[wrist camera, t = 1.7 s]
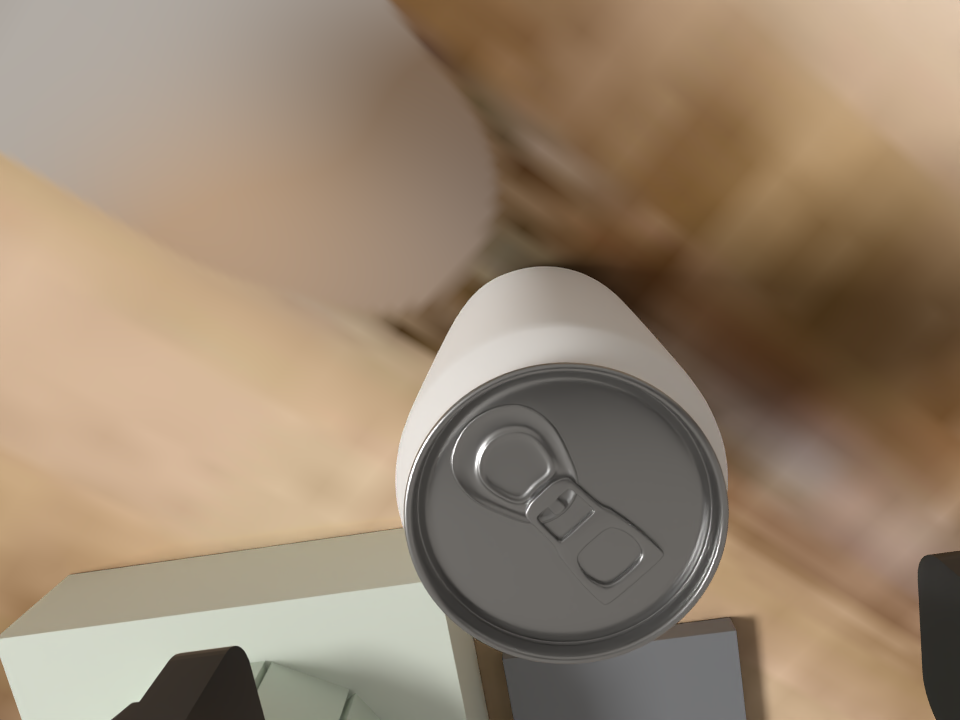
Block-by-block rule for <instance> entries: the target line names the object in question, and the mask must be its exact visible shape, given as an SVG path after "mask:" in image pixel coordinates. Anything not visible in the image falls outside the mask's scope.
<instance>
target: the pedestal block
mask: <svg viewBox="0 0 960 720" xmlns="http://www.w3.org/2000/svg"><path fill="white" fill-rule="evenodd" d="M229 646H239V647H241V648H242V649H243V650H244V651H245V653H246V654H247V657H248V659H249V662H250V665H251V669H252V672H253V676H254V680H255V684H256V687H257V691H258V695H259V699H260V702H261V706H262V710H263V714H264V717H265V720H489V717H488V711H487V706H486V701H485V696H484V691H483V686H482V681H481V676H480V671H479V666H478V660H477V655H476V650H475V645H474V640H473V637H472V636H471V635H469V634H468V633H467V632H465V631H464V630H462V629H461V628H460V627H459V626H457V625H456V624H455V623H454V622H453V621H452V620H451V619H450V618H449V617H447V615H446V614H445V613H444V612H443V611H442V610H441V609H440V608H439V607H438V606H437V604H436V603H435V602H434V601H433V599H432V598H431V597H430V595H429V594H428V592H427V591H426V589H425V588H424V586H423V584H422V582H421V581H420V579H419V577H418V575H417V572H416V570H415V568H414V565H413V563H412V560H411V557H410V554H409V550H408V547H407V542H406V537H405V531H404V528H399V529H392V530H385V531H378V532H371V533H363V534H356V535H349V536H342V537H335V538H328V539H321V540H314V541H307V542H300V543H292V544H285V545H278V546H271V547H264V548H257V549H250V550H243V551H236V552H229V553H221V554H214V555H207V556H200V557H193V558H186V559H179V560H172V561H165V562H158V563H150V564H143V565H136V566H129V567H122V568H115V569H108V570H101V571H94V572H87V573H79V574H72V575H68V576H67V577H66V578H65V579H64V580H62V581H61V582H60V583H59V584H58V585H57V586H55V587H54V588H53V589H52V590H51V591H50V592H49V593H47V594H46V595H45V596H44V597H43V598H42V599H40V600H39V601H38V602H37V603H36V604H35V605H34V606H32V607H31V608H30V609H29V610H28V611H27V612H25V613H24V614H23V615H22V616H21V617H20V618H19V619H17V620H16V621H15V622H14V623H13V624H12V625H10V626H9V627H8V628H7V629H6V630H5V631H4V632H2V633H1V634H0V658H1V661H2V664H3V666H4V669H5V672H6V675H7V678H8V681H9V684H10V687H11V689H12V692H13V695H14V698H15V701H16V704H17V707H18V710H19V712H20V715H21V718H22V720H111V719H113V718H114V717H115V716H116V715H117V714H119V713H120V712H121V711H122V710H124V709H125V708H126V707H127V706H128V705H130V704H131V703H133V702H139V701H140V700H141V699H142V697H143V696H144V694H145V693H146V692H147V690H148V689H149V687H150V686H151V685H152V683H153V682H154V680H155V679H156V678H157V676H158V675H159V674H160V672H161V671H162V669H163V668H164V667H165V665H166V664H167V662H168V661H169V660H170V659H171V658H172V657H173V656H174V655H175V654H178V653H184V652H192V651H199V650H207V649H214V648H222V647H229Z"/></svg>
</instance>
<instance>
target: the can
mask: <svg viewBox="0 0 960 720" xmlns="http://www.w3.org/2000/svg"><path fill="white" fill-rule="evenodd" d="M727 489H728V470H727V460H726V454H725V448H724V444H723V440H722V437H721V434H720V431H719V428H718V425H717V423H716V421H715V418H714V416H713V414H712V412H711V410H710V407H709V406H708V404H707V402H706V400H705V399H704V397H703V395H702V394H701V392H700V391H699V389H698V388H697V386H696V385H695V384H694V382H693V381H692V380H691V378H690V377H689V376H688V374H687V373H686V372H685V371H684V370H683V368H682V367H681V366H680V365H679V364H678V363H677V361H676V360H675V359H674V358H673V357H672V356H671V354H670V353H669V352H668V351H667V350H666V349H665V348H664V346H663V345H662V344H661V343H660V342H659V341H658V340H657V338H656V337H655V336H654V335H653V334H652V333H651V332H650V331H649V329H648V328H647V327H646V326H645V325H644V324H643V323H642V322H641V321H640V319H639V318H638V317H637V316H636V315H635V314H634V313H633V312H632V311H631V310H630V309H629V307H628V306H627V305H626V304H625V303H624V302H623V301H622V300H621V299H620V298H619V297H618V296H617V295H616V294H615V293H613V292H612V291H611V290H610V289H609V288H607V287H606V286H605V285H603V284H602V283H600V282H599V281H597V280H595V279H593V278H591V277H589V276H587V275H585V274H582V273H580V272H577V271H574V270H570V269H566V268H560V267H550V266H540V267H530V268H524V269H520V270H516V271H513V272H509V273H507V274H504V275H501V276H499V277H497V278H495V279H493V280H491V281H490V282H488V283H487V284H485V285H484V286H483V287H482V288H480V289H479V290H478V291H477V292H476V293H475V294H474V295H473V296H472V297H471V298H470V299H469V301H468V302H467V303H466V304H465V306H464V307H463V308H462V310H461V311H460V313H459V314H458V316H457V317H456V319H455V321H454V323H453V324H452V326H451V328H450V330H449V332H448V334H447V336H446V338H445V340H444V342H443V344H442V346H441V348H440V350H439V352H438V354H437V356H436V358H435V360H434V362H433V364H432V366H431V368H430V370H429V372H428V374H427V376H426V378H425V380H424V382H423V385H422V387H421V389H420V391H419V393H418V395H417V397H416V400H415V402H414V404H413V406H412V409H411V411H410V413H409V416H408V419H407V421H406V424H405V427H404V430H403V433H402V436H401V440H400V444H399V449H398V456H397V463H396V497H397V504H398V510H399V514H400V518H401V521H402V525H403V528H404V531H405V537H406V542H407V547H408V550H409V554H410V557H411V560H412V563H413V565H414V568H415V570H416V572H417V575H418V577H419V579H420V581H421V582H422V584H423V586H424V588H425V589H426V591H427V592H428V594H429V595H430V597H431V598H432V599H433V601H434V602H435V603H436V604H437V606H438V607H439V608H440V609H441V610H442V611H443V612H444V613H445V614H446V615H447V617H449V618H450V619H451V620H452V621H453V622H454V623H455V624H456V625H457V626H459V627H460V628H461V629H462V630H464V631H465V632H467V633H468V634H469V635H471V636H472V637H474V638H476V639H477V640H479V641H481V642H482V643H484V644H486V645H488V646H490V647H492V648H494V649H496V650H499V651H501V652H504V653H506V654H509V655H512V656H515V657H519V658H523V659H527V660H531V661H537V662H544V663H554V664H578V663H588V662H595V661H600V660H605V659H609V658H613V657H616V656H619V655H622V654H625V653H628V652H630V651H633V650H635V649H638V648H640V647H642V646H644V645H646V644H648V643H649V642H651V641H653V640H655V639H656V638H658V637H659V636H661V635H662V634H664V633H665V632H667V631H668V630H669V629H671V628H672V627H673V626H674V625H676V624H677V623H678V622H679V621H680V620H681V619H682V618H683V617H684V616H685V615H686V614H687V613H688V612H689V611H690V610H691V609H692V608H693V607H694V605H695V604H696V603H697V602H698V600H699V599H700V598H701V596H702V595H703V593H704V592H705V590H706V589H707V587H708V586H709V584H710V582H711V580H712V578H713V576H714V574H715V572H716V570H717V568H718V565H719V563H720V560H721V557H722V554H723V551H724V547H725V542H726V537H727V531H728V517H729V509H728V496H727Z"/></svg>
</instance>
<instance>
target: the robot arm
mask: <svg viewBox="0 0 960 720" xmlns="http://www.w3.org/2000/svg"><path fill="white" fill-rule="evenodd" d="M918 592H919V612H920V631H921V651H922V670H923V680H924V686H925V690H926V694H927V697H928V701H929V704H930V706H931V709H932V711H933V714H934V716H935V718H936V720H960V551H954V552H947V553H939V554H932V555H926V556H924V557H923V558H922V559H921V561H920V564H919V567H918ZM111 720H265V717H264V714H263V710H262V706H261V702H260V699H259V695H258V691H257V687H256V684H255V680H254V676H253V672H252V669H251V665H250V662H249V659H248V657H247V654H246V653H245V651H244V650H243V649H242V648H241V647H239V646H229V647H222V648H214V649H207V650H199V651H192V652H184V653H178V654H175V655H174V656H173V657H172V658H171V659H170V660H169V661H168V662H167V664H166V665H165V667H164V668H163V669H162V671H161V672H160V674H159V675H158V676H157V678H156V679H155V680H154V682H153V683H152V685H151V686H150V687H149V689H148V690H147V692H146V693H145V694H144V696H143V697H142V699H141V700H140V701H139V702H133V703H131V704H130V705H128V706H127V707H126V708H125V709H124V710H122V711H121V712H120V713H119V714H117V715H116V716H115V717H114V718H113V719H111Z"/></svg>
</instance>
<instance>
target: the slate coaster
mask: <svg viewBox="0 0 960 720" xmlns="http://www.w3.org/2000/svg"><path fill="white" fill-rule="evenodd" d="M502 660H503V665H504V671H505V676H506V681H507V687H508V692H509V697H510V703H511V708H512V713H513V718H514V720H746V713H745V704H744V695H743V686H742V677H741V668H740V659H739V651H738V642H737V633H736V629H735V627H734V625H733V623H732V621H731V619H730V617H729V618H721V619H713V620H705V621H697V622H689V623H681V624H676V625H674V626H673V627H672V628H671V629H669V630H668V631H667V632H665V633H664V634H662V635H661V636H659V637H658V638H656V639H655V640H653V641H651V642H649V643H648V644H646V645H644V646H642V647H640V648H638V649H635V650H633V651H630V652H628V653H625V654H622V655H619V656H616V657H613V658H609V659H605V660H600V661H595V662H588V663H578V664H554V663H544V662H537V661H531V660H527V659H523V658H519V657H515V656H512V655H509V654H506V653H504V652H503V657H502Z"/></svg>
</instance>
